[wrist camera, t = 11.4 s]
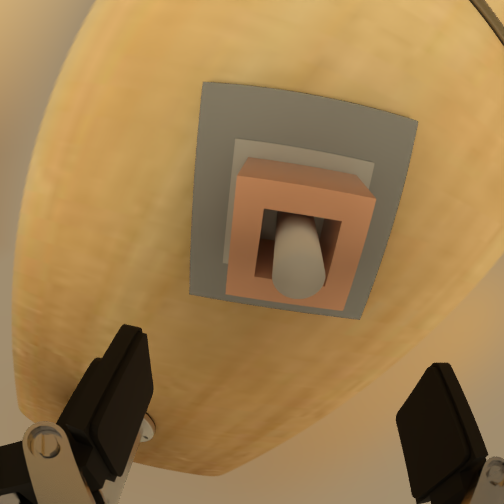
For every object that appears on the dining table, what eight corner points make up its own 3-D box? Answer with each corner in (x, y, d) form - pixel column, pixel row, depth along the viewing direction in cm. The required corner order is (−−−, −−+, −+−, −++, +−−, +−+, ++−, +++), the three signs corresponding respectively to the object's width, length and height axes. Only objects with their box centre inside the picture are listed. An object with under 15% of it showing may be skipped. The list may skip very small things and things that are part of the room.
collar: (333, 268, 23) (342, 311, 18) (237, 254, 23) (225, 294, 18) (356, 174, 19) (376, 198, 15) (248, 156, 20) (237, 175, 15)
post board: (356, 308, 26) (377, 396, 18) (193, 284, 27) (157, 366, 18) (410, 119, 19) (484, 140, 10) (208, 82, 19) (153, 74, 11)
